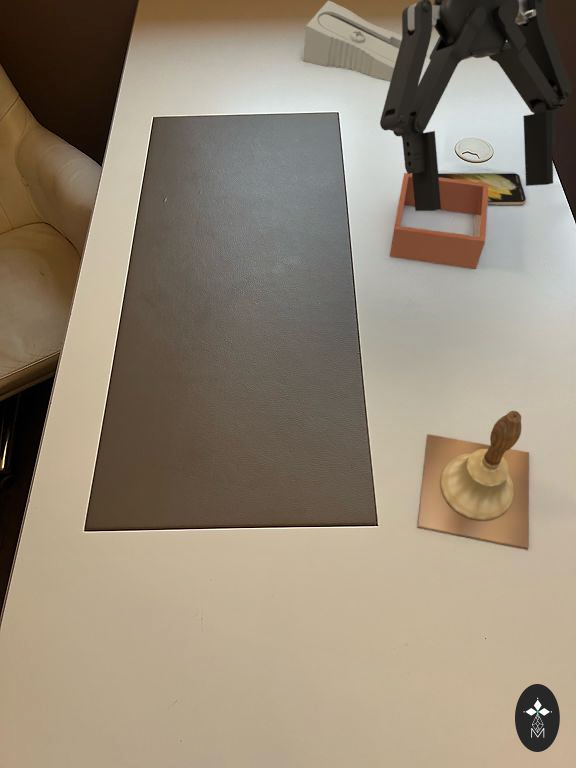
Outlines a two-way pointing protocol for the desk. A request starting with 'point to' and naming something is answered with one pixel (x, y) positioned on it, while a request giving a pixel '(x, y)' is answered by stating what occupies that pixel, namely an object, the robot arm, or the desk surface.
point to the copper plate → (445, 519)
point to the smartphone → (495, 186)
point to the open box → (438, 243)
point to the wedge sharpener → (350, 43)
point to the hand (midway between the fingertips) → (486, 197)
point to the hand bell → (483, 475)
